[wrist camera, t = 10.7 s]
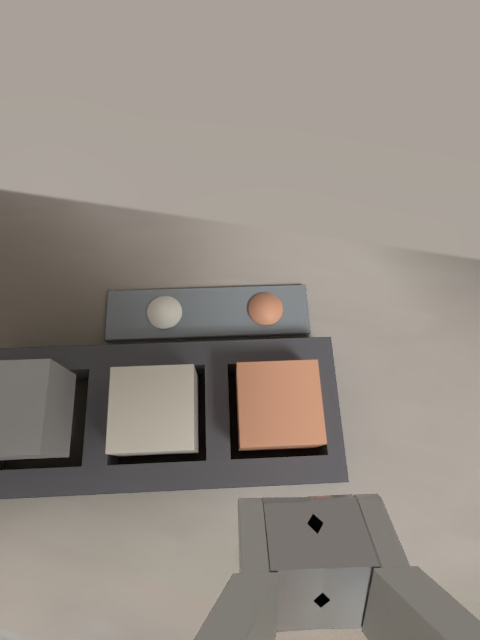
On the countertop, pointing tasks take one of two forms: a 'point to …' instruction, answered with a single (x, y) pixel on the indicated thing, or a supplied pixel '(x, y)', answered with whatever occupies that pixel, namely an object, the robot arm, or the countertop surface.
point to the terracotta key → (279, 405)
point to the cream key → (153, 410)
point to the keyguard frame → (218, 468)
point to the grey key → (35, 409)
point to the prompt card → (207, 313)
